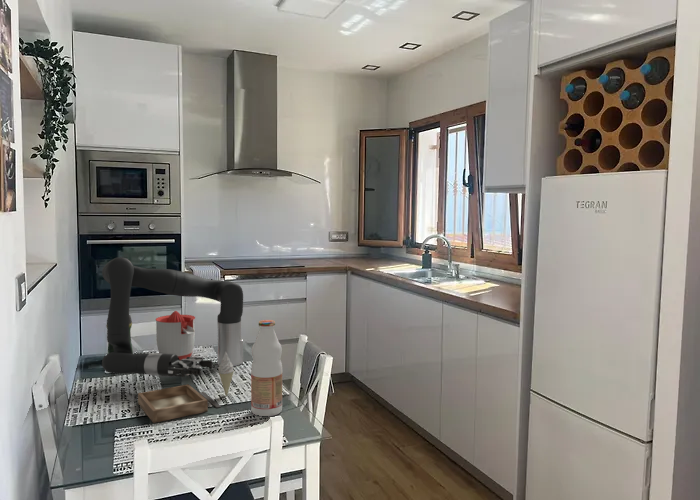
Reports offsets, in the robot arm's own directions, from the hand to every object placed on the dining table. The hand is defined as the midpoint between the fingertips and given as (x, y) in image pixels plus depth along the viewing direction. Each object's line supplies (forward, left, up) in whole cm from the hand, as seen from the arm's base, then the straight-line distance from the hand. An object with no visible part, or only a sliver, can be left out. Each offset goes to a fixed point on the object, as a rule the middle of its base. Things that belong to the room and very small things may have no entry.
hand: (206, 367), depth 173 cm
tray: (+11, +6, -9) cm, 15 cm away
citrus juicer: (-5, -48, -9) cm, 49 cm away
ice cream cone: (-5, +5, -9) cm, 12 cm away
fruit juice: (-10, +25, -9) cm, 28 cm away
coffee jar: (+15, -59, -9) cm, 62 cm away
